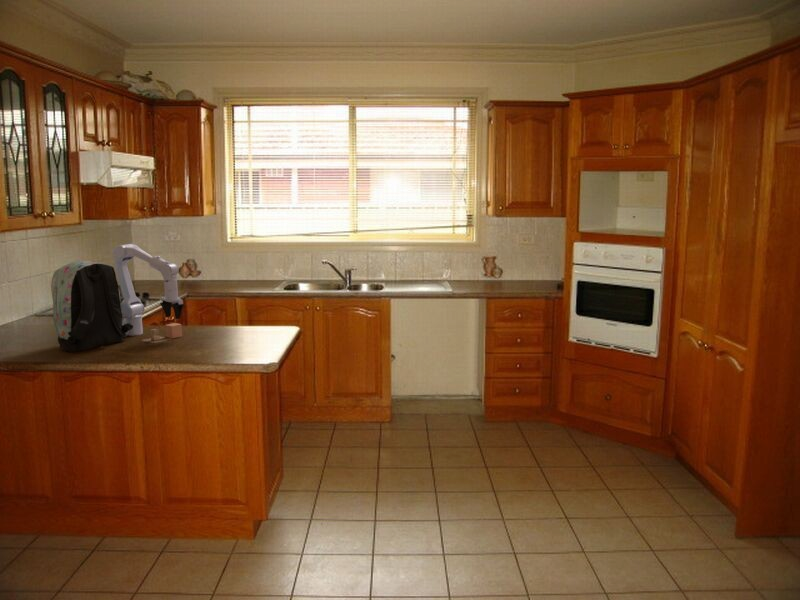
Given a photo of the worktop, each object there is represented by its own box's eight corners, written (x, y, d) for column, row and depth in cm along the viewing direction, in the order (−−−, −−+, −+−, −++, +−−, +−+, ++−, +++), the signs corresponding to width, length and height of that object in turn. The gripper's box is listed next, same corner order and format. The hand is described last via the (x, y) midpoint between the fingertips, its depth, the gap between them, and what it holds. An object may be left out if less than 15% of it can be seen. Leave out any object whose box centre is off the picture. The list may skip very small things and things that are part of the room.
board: (141, 341, 306) (141, 340, 306) (160, 337, 314) (160, 336, 314) (154, 345, 300) (153, 343, 300) (173, 340, 308) (172, 339, 308)
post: (151, 340, 306) (150, 329, 305) (156, 339, 308) (155, 328, 307) (154, 341, 304) (153, 330, 303) (159, 339, 306) (158, 329, 305)
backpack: (102, 335, 320) (95, 256, 314) (137, 340, 309) (131, 258, 302) (40, 350, 292) (30, 263, 285) (76, 356, 281) (67, 266, 274)
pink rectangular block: (166, 338, 312) (165, 324, 311) (175, 336, 317) (175, 322, 315) (173, 339, 309) (172, 326, 308) (182, 337, 314) (181, 324, 312)
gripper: (187, 289, 308) (189, 318, 310) (169, 286, 316) (171, 314, 319) (174, 291, 302) (176, 320, 305) (156, 288, 311) (158, 317, 313)
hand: (173, 317), depth 311 cm, fingers open, 7 cm apart
